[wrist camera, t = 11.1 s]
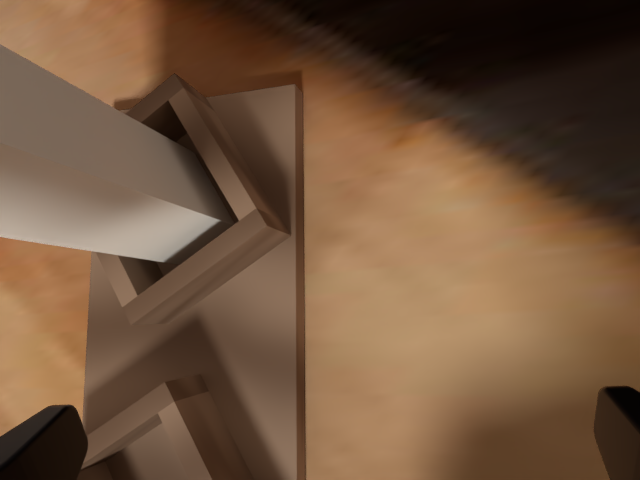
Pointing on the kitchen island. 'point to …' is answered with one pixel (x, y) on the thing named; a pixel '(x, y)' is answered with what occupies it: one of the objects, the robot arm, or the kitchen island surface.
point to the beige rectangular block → (96, 174)
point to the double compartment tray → (208, 310)
